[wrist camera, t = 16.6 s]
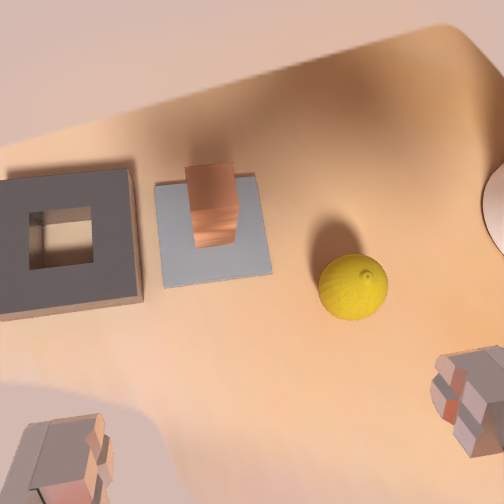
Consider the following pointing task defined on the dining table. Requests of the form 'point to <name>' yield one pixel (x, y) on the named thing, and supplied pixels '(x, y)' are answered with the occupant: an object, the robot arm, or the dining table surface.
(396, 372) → the dining table surface
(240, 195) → the mat
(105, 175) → the collar block
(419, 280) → the dining table surface
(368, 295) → the lemon
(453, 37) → the dining table surface
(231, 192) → the peg
